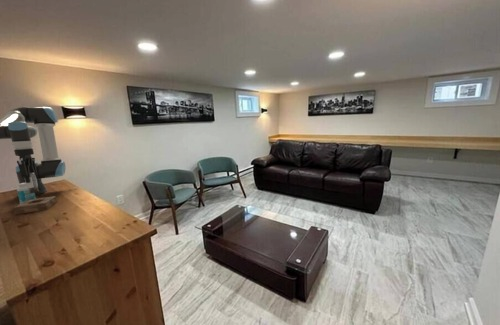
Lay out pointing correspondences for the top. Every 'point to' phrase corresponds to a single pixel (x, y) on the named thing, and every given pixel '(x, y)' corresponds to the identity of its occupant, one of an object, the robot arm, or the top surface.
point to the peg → (35, 188)
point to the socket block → (35, 204)
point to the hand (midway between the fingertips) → (32, 186)
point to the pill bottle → (24, 193)
